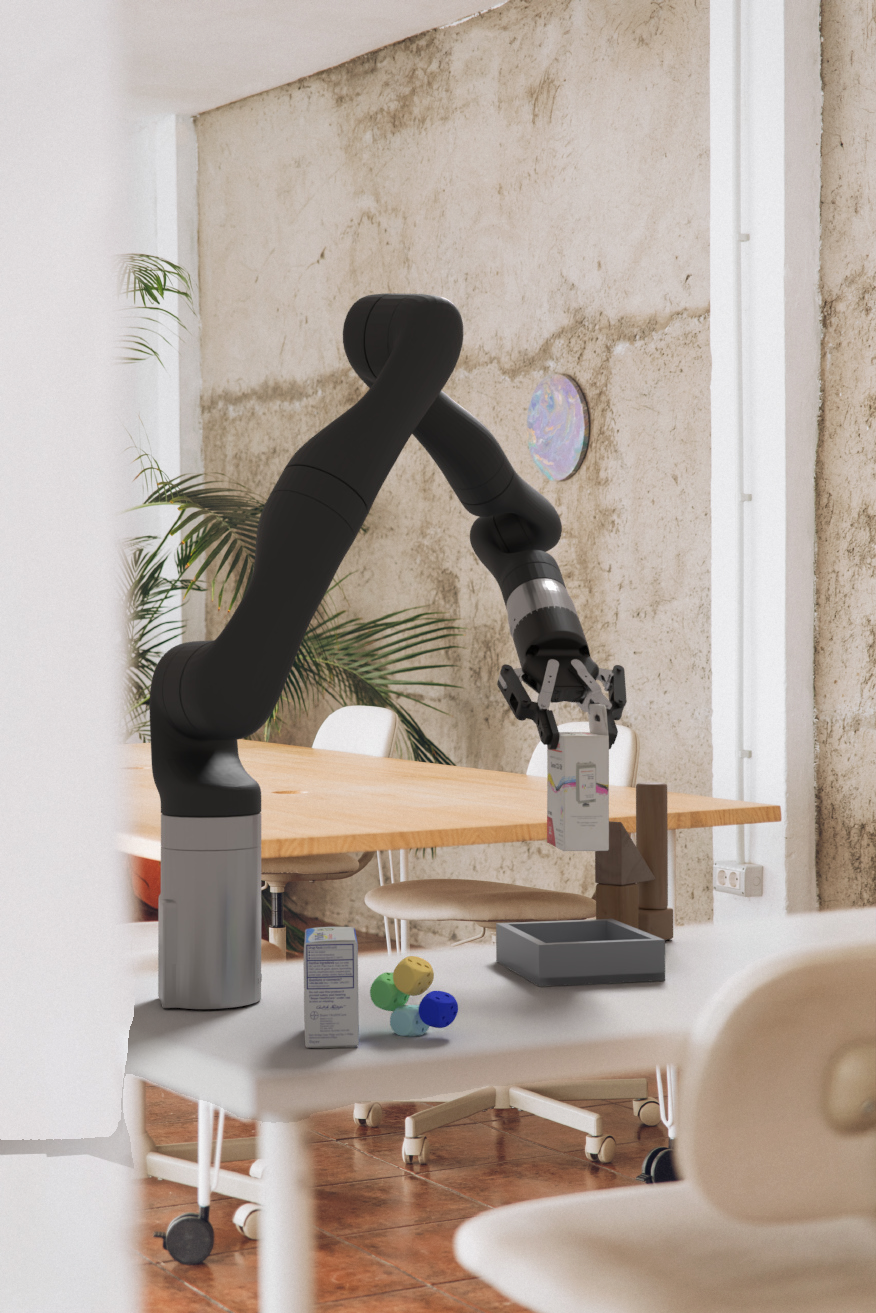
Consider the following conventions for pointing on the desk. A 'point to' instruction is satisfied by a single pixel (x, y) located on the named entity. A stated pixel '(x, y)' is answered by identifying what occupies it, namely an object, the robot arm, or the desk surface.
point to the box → (580, 952)
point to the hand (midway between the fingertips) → (582, 743)
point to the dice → (413, 980)
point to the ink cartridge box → (580, 787)
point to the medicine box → (331, 988)
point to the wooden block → (637, 867)
